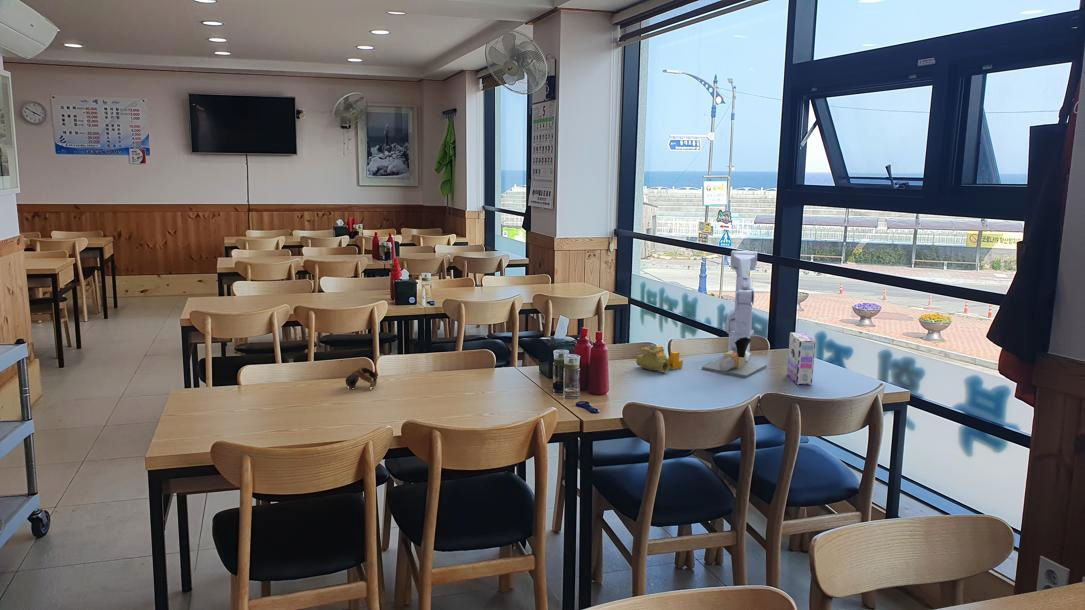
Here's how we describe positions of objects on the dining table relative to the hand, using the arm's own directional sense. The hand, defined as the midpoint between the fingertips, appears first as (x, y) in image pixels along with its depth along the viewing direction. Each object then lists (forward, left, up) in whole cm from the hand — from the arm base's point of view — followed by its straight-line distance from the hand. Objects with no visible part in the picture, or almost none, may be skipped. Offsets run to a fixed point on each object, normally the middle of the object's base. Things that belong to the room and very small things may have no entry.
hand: (740, 357), depth 305 cm
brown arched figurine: (+102, -94, -7) cm, 139 cm away
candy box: (-8, +20, -7) cm, 22 cm away
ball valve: (+15, -28, -7) cm, 32 cm away
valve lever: (-1, -3, 0) cm, 3 cm away
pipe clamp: (+5, -27, -7) cm, 29 cm away
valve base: (-7, -5, -7) cm, 11 cm away
